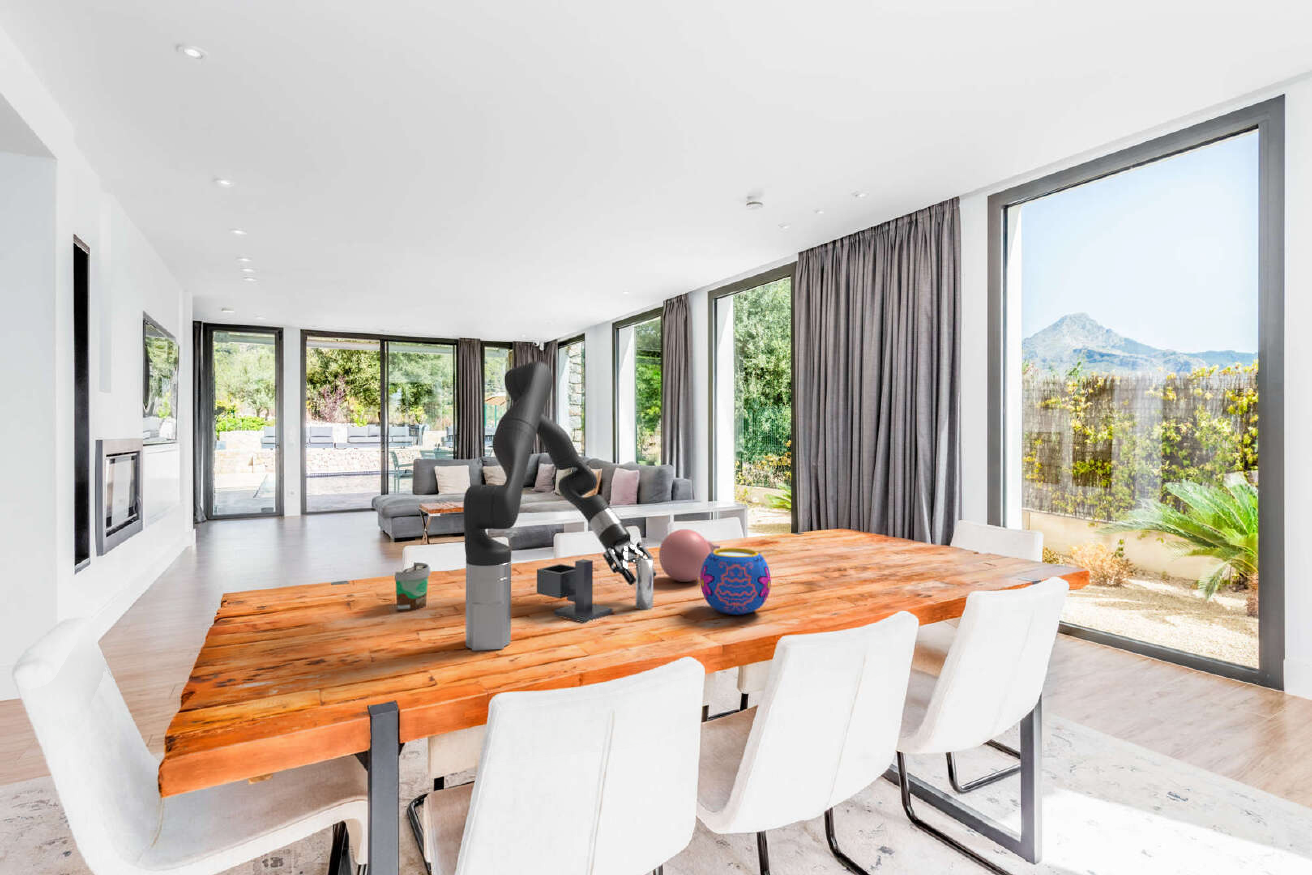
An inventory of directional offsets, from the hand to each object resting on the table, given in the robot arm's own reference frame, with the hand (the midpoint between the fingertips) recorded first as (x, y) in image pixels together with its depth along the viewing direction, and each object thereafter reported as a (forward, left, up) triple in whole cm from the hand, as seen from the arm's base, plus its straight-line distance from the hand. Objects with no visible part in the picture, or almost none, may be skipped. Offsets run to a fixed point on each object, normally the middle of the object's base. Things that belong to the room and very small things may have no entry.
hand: (644, 579), depth 163 cm
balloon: (+25, -20, -7) cm, 33 cm away
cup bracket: (-1, +18, -7) cm, 19 cm away
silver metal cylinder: (0, 0, -7) cm, 7 cm away
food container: (+12, +56, -7) cm, 58 cm away
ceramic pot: (-9, -21, -7) cm, 24 cm away
